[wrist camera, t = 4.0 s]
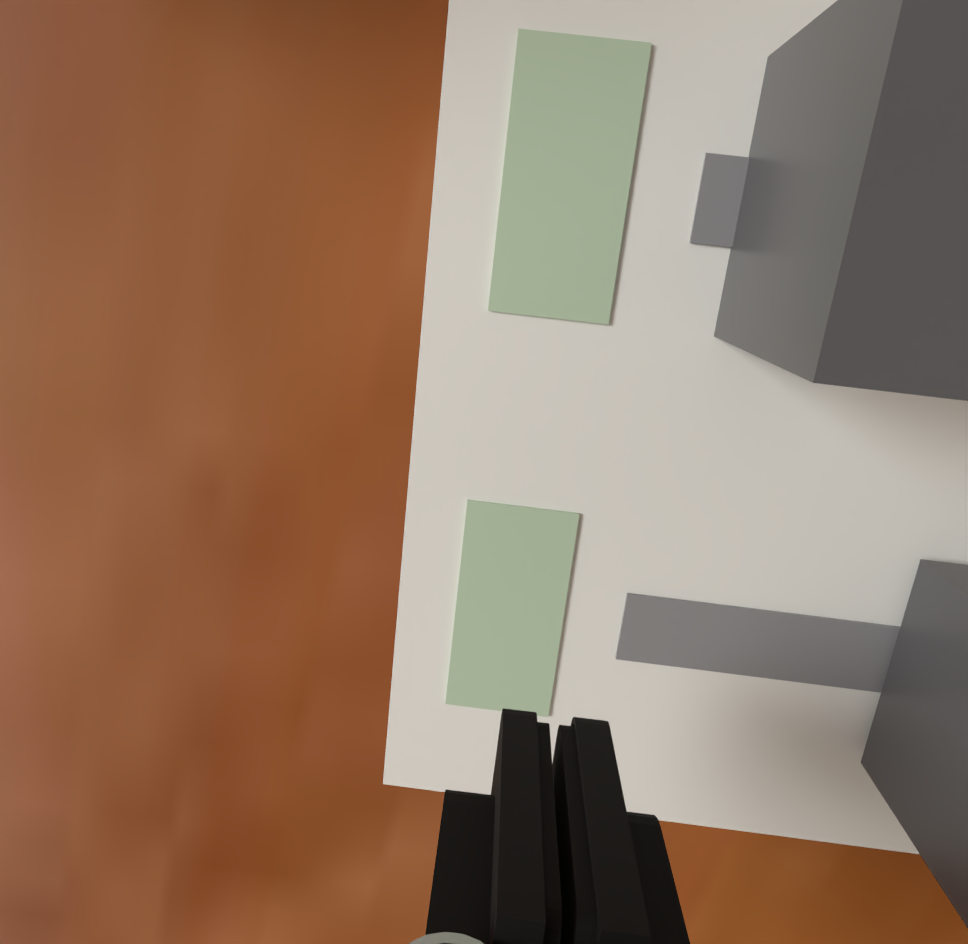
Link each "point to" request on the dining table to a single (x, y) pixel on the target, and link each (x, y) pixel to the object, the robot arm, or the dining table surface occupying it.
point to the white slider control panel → (686, 394)
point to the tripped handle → (928, 726)
